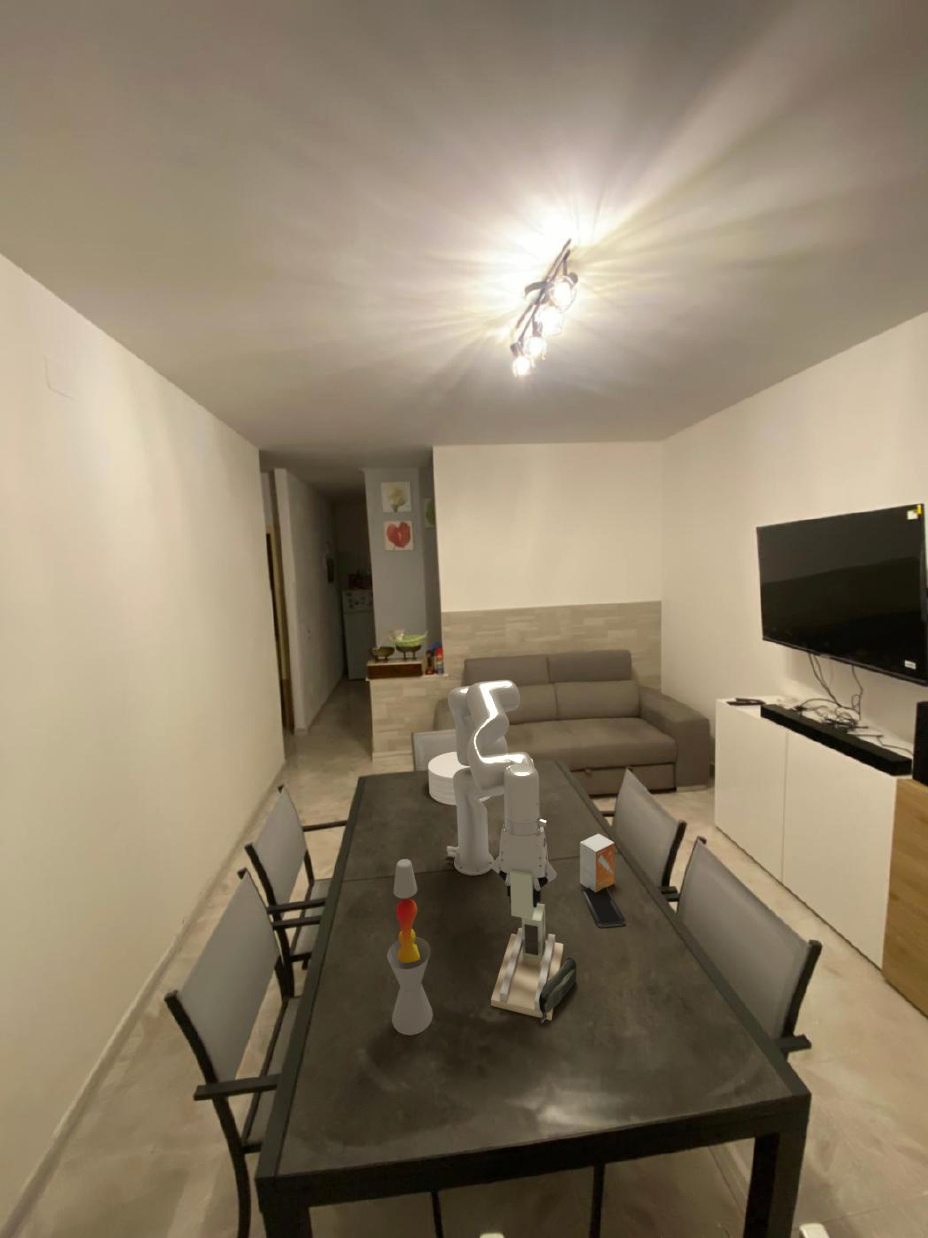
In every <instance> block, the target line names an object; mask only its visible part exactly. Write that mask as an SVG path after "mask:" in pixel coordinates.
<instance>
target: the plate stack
mask: <svg viewBox="0 0 928 1238" xmlns="http://www.w3.org/2000/svg"><path fill="white" fill-rule="evenodd" d="M468 767H470V766H464V765H461V764H460V763H459V761H458V759H457V752H456V751H451V752H445V753H442V754H439V755H436V756H435V757H433V758H431V760H430V761H429V762H428V766H427V769H428V789H429V795H430V796H431V798H432V799H434V800H435V801H436V802H439V803H442V804H445V805H449V806H450V805H451V806H456V798H455V793H454V788H453V776H454V774H455V773H456V772H457V771H458V770H460V769H463V768H468ZM490 798H491V797H485V798H481V799H479V800H480V801H481V802H482V803H483V802H485V801H487V800H489V799H490Z"/></svg>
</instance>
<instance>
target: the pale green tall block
mask: <svg viewBox="0 0 928 1238" xmlns="http://www.w3.org/2000/svg"><path fill="white" fill-rule="evenodd" d="M510 883H511V903H510V907H511V908H510V910H511V911H510V912H511V913H510V914H511V917H516V918H517V917H518V918H521V919H522V918H526V919H532V918H533V914H534V911H535V907H533V889H534V883H533V877H532V873H526V872H519V871H513V870H511V872H510Z"/></svg>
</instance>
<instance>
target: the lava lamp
mask: <svg viewBox="0 0 928 1238" xmlns="http://www.w3.org/2000/svg"><path fill="white" fill-rule="evenodd" d="M415 877H416V876H415V872H414V868H413V864H412V862H411V860H410V859H407V858H406V859H405V858H403V859H400V860H398V861H397V863H396V865H395V873H394V885H393V894H394V896H395V897H396V898H399V899H401V900H400V901H399V902H398V904H397V906H396V909H395V911H396V916H397V920H398V923H399V925H400V929H401V930H400V931H399V934H398V939H397V940H396V941H394V942H393V943H392V944H391V945H390V946H389V948H388V950H387V955H386V958H387V961H388V962H389V963H388V964H389V965H390V967H391V970H392V972H393V975H394V976H395V978H396V980H397V982H398V985H399V990H398V992H397V996H396V1001H395V1005H394V1008H393V1011H392V1018H391V1021H392V1023H391V1024H392V1026H393V1028H394V1029H395V1030H396V1031H397V1032H398V1033H399V1034H402V1035H407V1036H413V1035H418V1034H420V1033H422V1032H423V1031H425V1030H427V1028H428V1027H429V1026H430V1024H431V1023H432V1020H433V1016H434V1014H433V1013H434V1012H433V1008H432V1006H431V1003H430V1001H429V997H428V996H427V994H426V992H425V989H424V987H423V984H422V981H423V979H424V975H425V972H426V967H427V965H428V961H429V960H430V959H429V958H430V956H431V947H430V944H429V942H428V941H427V939H425V938H423V937H420V936H416V932H415V931H414V929H413V925H414V921H415V919H416V916H417V913H418V906H417V904H416V902H415V900H414V899H412V897H413V896H415V894H417V892H418V885H417V881H416V878H415Z"/></svg>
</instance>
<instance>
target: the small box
mask: <svg viewBox="0 0 928 1238" xmlns="http://www.w3.org/2000/svg"><path fill="white" fill-rule="evenodd" d="M579 882H580V884H581V885H582V886H584V888H590V889H592V890H593V891H594V892H598V891H599V890H601V889H603V888H604V887H607V888H608V887H611V886H612V885H615V842H614V841H613V840H611V839H609V838H607V837H606V836H603V834H600V833H597V834H594V835H592V836H590V837H588V838H586V839H584V840H581V841H580V842H579Z"/></svg>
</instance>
